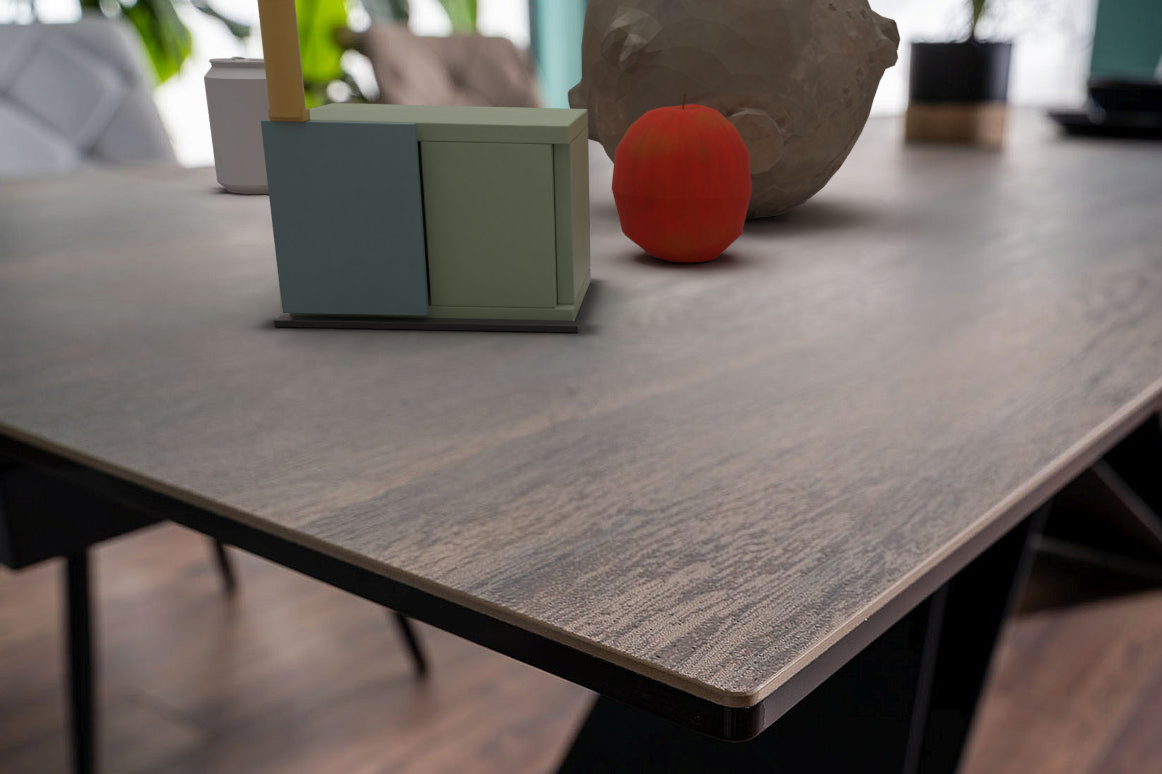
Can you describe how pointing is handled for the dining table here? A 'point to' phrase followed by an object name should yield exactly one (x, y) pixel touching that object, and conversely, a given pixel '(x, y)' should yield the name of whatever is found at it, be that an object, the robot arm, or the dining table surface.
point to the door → (338, 196)
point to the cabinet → (490, 217)
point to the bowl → (742, 79)
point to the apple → (682, 183)
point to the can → (238, 122)
